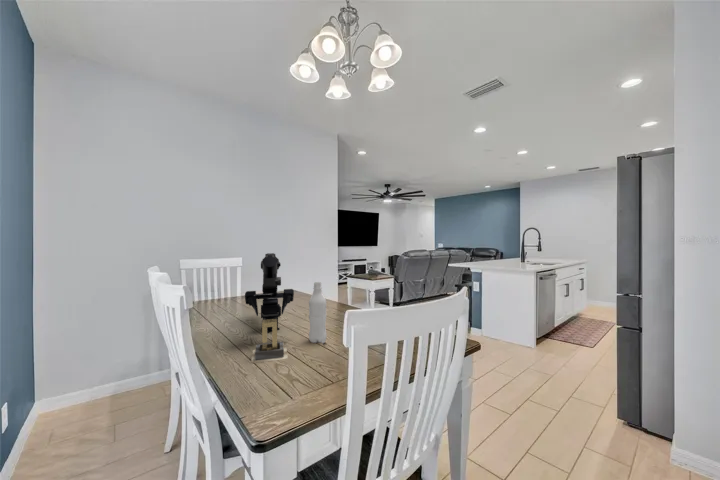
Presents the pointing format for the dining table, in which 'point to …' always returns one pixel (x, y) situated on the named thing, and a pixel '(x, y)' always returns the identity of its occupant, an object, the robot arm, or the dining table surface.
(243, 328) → the dining table surface
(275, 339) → the brass link
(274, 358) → the grey square tray
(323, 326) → the water bottle
